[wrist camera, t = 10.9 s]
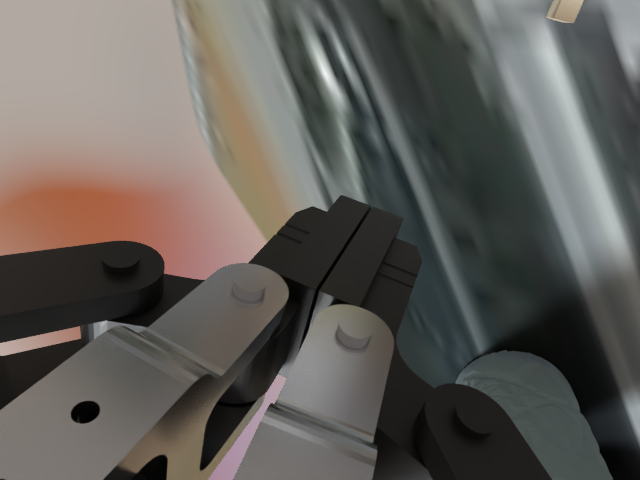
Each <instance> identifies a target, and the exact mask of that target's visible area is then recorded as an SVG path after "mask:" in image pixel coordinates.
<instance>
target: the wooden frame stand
mask: <svg viewBox="0 0 640 480" xmlns="http://www.w3.org/2000/svg"><path fill="white" fill-rule="evenodd" d="M583 1H584V0H553V2H552V4H551V6H550V9H549V11H548V13H547V16H546V18H549V19H552V20H556V21H560V22H563V23H574V21H575V19H576V17H577V15H578V12H579V10H580V8H581V6H582V4H583Z"/></svg>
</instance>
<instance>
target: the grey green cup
mask: <svg viewBox="0 0 640 480" xmlns="http://www.w3.org/2000/svg"><path fill="white" fill-rule="evenodd" d="M455 384H463V385H466V386H470V387H473V388H475V389H477V390H479V391H481V392H483V393H485V394H486V395H488V396H489V397H491V398H492V399H493V400H494V401H496V402H497V403H498V404H499V405H500V406H501V407H502V408H503V409H504V410H505V412H506V413H507V414H508V415H509V417H510V418H511V420H512V421H513V423H514V424H515V426H516V427H517V429H518V430H519V431H520V433H521V434H522V436H523V437H524V439H525V440H526V442H527V443H528V445H529V446H530V448H531V449H532V451H533V452H534V454H535V455H536V456H537V458H538V459H539V461H540V462H541V464H542V465H543V467H544V468H545V470H546V471H547V473H548V474H549V476H550V477H551V478H552V480H613V478H612V476H611V474H610V473H609V470H608V467H607V465H606V463H605V461H604V459H603V457H602V455H601V454H600V452H599V446H598V444H597V441H596V440H595V438H594V436H593V434H592V432H591V429H590V426H589V424H588V422H587V421H586V419H585V418H584V416H583V415H582V414H581V413H580V408H579V404H578V401H577V399H576V397H575V395H574V393H573V391H572V389H571V386H570V384H569V383H568V381H567V379H566V378H565V377H564V375H563V374H562V373H561V372H560V371H559V370H558V369H557V368H556V367H555V366H554V365H552V364H551V363H550V362H548V361H546V360H544V359H543V358H541V357H538V356H536V355H533V354H531V353H526V352H518V351H506V350H504V351H500V352H498V353H495V352H493V353H491V354H486V355H485V356H482V357H480V358H478V359H476V360H474V361H473V362H472V363H471V364H469V365H467V366H466V368H464V369H463V370H462V372H461V373H460V374H459V376H458V378H457V380H456V383H455Z"/></svg>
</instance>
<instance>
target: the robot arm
mask: <svg viewBox="0 0 640 480" xmlns="http://www.w3.org/2000/svg"><path fill="white" fill-rule="evenodd" d="M402 220H403V218H402V217H399V216H396V215H394V214H391V213H388V212H386V211H383V210H380V209H378V208H375V207H373V208H372V209H371V206H369V205H367V204H364V203H361V202H359V201H356V200H354V199H351V198H348V197H346V196H343V195H341V196H340V197H339V198H338V199H337V200H336V202H335V203H334V204H333V205H332V207H331V208H330V209H329V210H328V211H327V212H326V211H323V210H321V209H318V208H316V207H313V206H312V207H310V208H307V209H304V210H301V211H299V212H296V213H295V214H294V215H293V216H292V217H291V218H290V219H289V220H288V221H287V222H286V224H285V226H283V227H282V228H281V229H280V230H279V231H278V232H277V234H276V235H274V236H273V237H272V238H271V239H270V241H269V242H268V243H267V244H266V245H265V246H264V247H263V248H262V249H261V250H260V251H259V252H258V253H257V254H256V255H255V256H254V258H253V259H252V260H251V261H250V262H249V263H239V264H238V263H237V264H231V265H228V266H225V267H223V268H220V269H219V270H217V271H216V272H215V273H213V274H212V275H211V276H210V277H209V278H207V279H206V280H198V279H191V278H185V277H178V276H173V275H168V274H164V261H163V258H162V257H161V255H160V254H159V253H158V252H157V251H156V250H154V249H153V248H151V247H149V246H147V245H144V244H141V243H137V242H132V241H111V242H104V243H96V244H88V245H80V246H73V247H65V248H58V249H51V250H43V251H34V252H27V253H19V254H11V255H4V256H0V343H2V342H7V341H11V340H16V339H21V338H26V337H30V336H35V335H40V334H45V333H49V332H54V331H59V330H63V329H68V328H73V327H77V326H80V331H81V339H78V340H73V341H69V342H64V343H60V344H56V345H51V346H47V347H42V348H37V349H33V350H29V351H24V352H20V353H15V354H11V355H6V356H0V480H208V479H209V477H210V476H211V475H212V473H213V472H214V470H215V469H216V468H217V466H218V465H219V463H220V462H221V461H222V459H223V458H224V456H225V455H226V454H227V452H228V451H229V450H230V448H231V447H232V446H233V444H234V443H235V441H236V440H237V438H238V437H239V436H240V434H241V433H242V431H243V430H244V429H245V427H246V426H247V425H248V423H249V422H250V420H251V419H252V418H253V416H254V415H255V414H256V412H257V411H258V410H259V408H260V407H261V405H262V403H263V401H264V397H265V393H266V392H267V390H268V389H269V387H270V386H271V384H272V382H273V381H274V379H275V378H276V376H277V374H279V375H282V376H284V377H286V378H287V379H286V381H285V383H284V386H283V388H282V390H281V392H280V394H279V396H278V398H277V400H276V402H275V404H272V403H271V404H270V405H269V407H268V408H267V410H266V412H265V414H264V416H263V418H262V420H261V422H260V424H259V426H258V428H257V430H256V432H255V435H254V437H253V439H252V441H251V443H250V445H249V447H248V449H247V451H246V453H245V455H244V458H243V460H242V462H241V464H240V466H239V468H238V470H237V473H236V474H235V477H234V479H233V480H552V478H551V477H550V476H549V474H548V473H547V471H546V470H545V468H544V467H543V465H542V464H541V462H540V461H539V459H538V458H537V456H536V455H535V454H534V452H533V451H532V449H531V448H530V446H529V445H528V443H527V442H526V440H525V439H524V437H523V436H522V434H521V433H520V431H519V430H518V429H517V427H516V426H515V424H514V423H513V421H512V420H511V418H510V417H509V415H508V414H507V413H506V412H505V410H504V409H503V408H502V407H501V406H500V405H499V404H498V403H497V402H496V401H494V400H493V399H492V398H491V397H489V396H488V395H486V394H485V393H483V392H481V391H479V390H477V389H475V388H473V387H470V386H466V385H463V384H455V383H452V384H444V385H441V386H438V387H436V388H435V389H434V388H433V387H432V386H430V385H429V384H428V383H426V382H425V381H424V380H422V379H421V378H420V377H418V376H417V375H416V374H415V373H414V372H413V371H412V370H411V369H410V368H409V367H408V366H407V365H406V363H405V362H404V361H403V359H402V357H401V356H400V353H399V351H398V348H397V343H396V337H397V332H398V329H399V326H400V324H401V321H402V318H403V315H404V312H405V309H406V306H407V303H408V301H409V298H410V295H411V292H412V289H413V286H414V283H415V280H416V277H417V275H418V272H419V269H420V266H421V263H422V260H421V257H420V254H419V251H418V248H417V246H414V245H412V244H409V243H407V242H404V241H401V240H399V239H396V237H397V234H398V232H399V229H400V226H401V223H402Z"/></svg>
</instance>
